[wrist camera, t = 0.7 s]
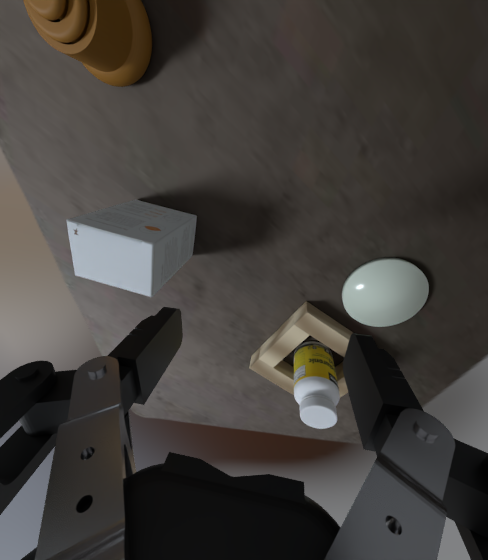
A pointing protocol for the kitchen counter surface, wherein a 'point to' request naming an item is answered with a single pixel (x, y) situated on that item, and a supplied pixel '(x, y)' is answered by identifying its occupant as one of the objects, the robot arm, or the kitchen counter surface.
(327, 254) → the kitchen counter surface
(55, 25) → the ornamental finial
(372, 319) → the pale green pebble
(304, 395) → the supplement bottle
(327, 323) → the pocket block
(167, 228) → the small box
